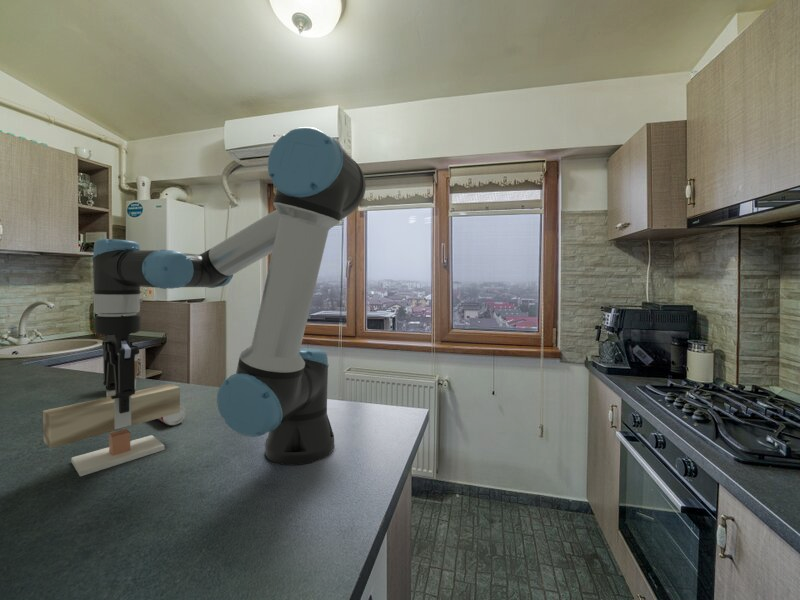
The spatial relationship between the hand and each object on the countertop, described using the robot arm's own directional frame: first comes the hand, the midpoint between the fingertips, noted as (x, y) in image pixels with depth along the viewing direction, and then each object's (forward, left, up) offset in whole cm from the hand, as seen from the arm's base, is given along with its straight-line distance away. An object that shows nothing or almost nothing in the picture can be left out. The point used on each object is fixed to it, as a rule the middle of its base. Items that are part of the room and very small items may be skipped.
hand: (118, 422), depth 74 cm
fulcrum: (0, 0, -7) cm, 7 cm away
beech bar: (0, 0, -1) cm, 1 cm away
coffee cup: (+52, -13, -7) cm, 54 cm away
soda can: (+8, -14, -5) cm, 16 cm away
